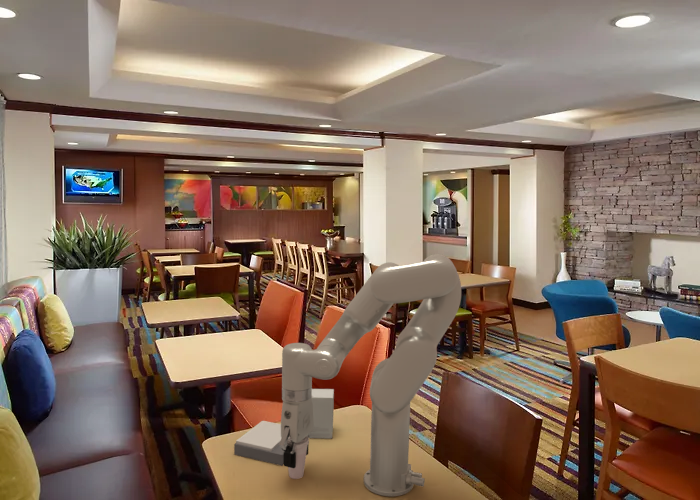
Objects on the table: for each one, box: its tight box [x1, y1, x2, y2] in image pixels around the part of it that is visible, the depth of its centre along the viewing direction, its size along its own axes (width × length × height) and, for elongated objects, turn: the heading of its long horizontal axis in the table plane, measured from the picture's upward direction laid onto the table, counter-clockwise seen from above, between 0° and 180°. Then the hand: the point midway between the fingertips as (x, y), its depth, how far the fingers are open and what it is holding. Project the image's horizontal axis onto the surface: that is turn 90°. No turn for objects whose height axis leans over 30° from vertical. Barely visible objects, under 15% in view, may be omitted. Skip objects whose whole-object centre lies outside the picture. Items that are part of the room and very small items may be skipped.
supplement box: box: [309, 388, 335, 439], centre depth 154 cm, size 7×7×13 cm
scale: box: [233, 420, 284, 467], centre depth 145 cm, size 15×15×4 cm
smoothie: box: [287, 436, 310, 480], centre depth 130 cm, size 6×6×14 cm
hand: (296, 459), depth 130 cm, fingers closed on smoothie, 6 cm apart
